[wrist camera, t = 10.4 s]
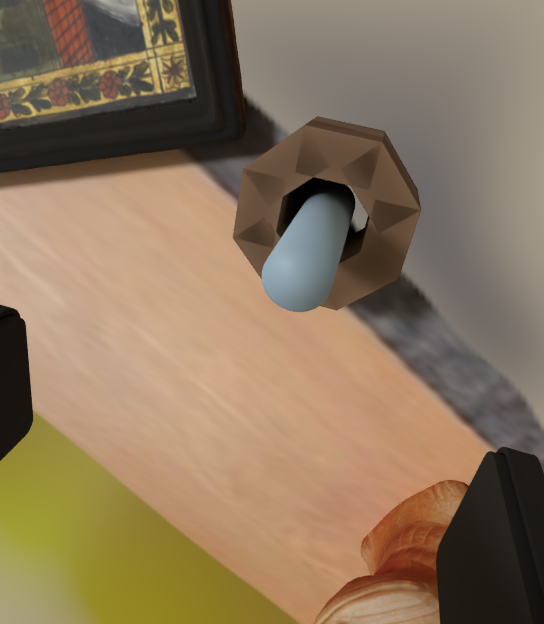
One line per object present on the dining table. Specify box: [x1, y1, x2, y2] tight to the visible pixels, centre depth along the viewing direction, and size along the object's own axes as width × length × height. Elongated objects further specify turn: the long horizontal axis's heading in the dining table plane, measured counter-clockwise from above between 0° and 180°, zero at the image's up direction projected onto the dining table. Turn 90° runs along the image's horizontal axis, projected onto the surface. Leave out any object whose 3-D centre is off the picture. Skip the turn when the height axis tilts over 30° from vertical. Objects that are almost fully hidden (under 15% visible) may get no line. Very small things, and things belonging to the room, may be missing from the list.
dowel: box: [262, 180, 355, 312], centre depth 25 cm, size 3×3×12 cm
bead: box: [233, 117, 421, 310], centre depth 28 cm, size 9×9×4 cm
